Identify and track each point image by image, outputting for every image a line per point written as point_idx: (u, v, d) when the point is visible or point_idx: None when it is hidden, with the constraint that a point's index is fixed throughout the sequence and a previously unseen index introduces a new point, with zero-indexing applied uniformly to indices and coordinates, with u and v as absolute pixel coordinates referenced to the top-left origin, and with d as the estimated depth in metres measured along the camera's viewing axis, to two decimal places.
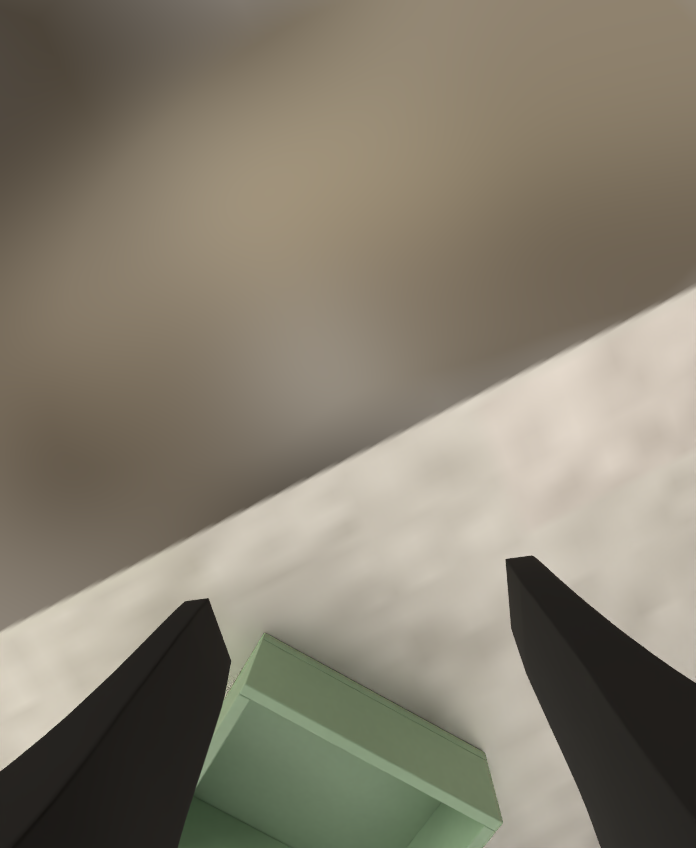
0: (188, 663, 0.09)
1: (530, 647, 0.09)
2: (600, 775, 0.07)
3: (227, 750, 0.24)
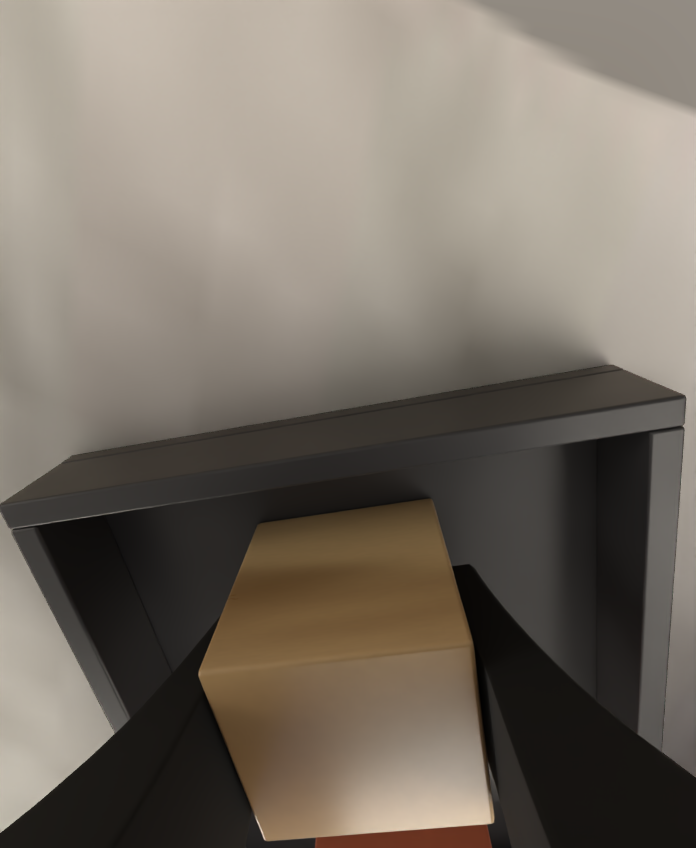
0: None
1: None
2: (505, 783, 0.07)
3: None
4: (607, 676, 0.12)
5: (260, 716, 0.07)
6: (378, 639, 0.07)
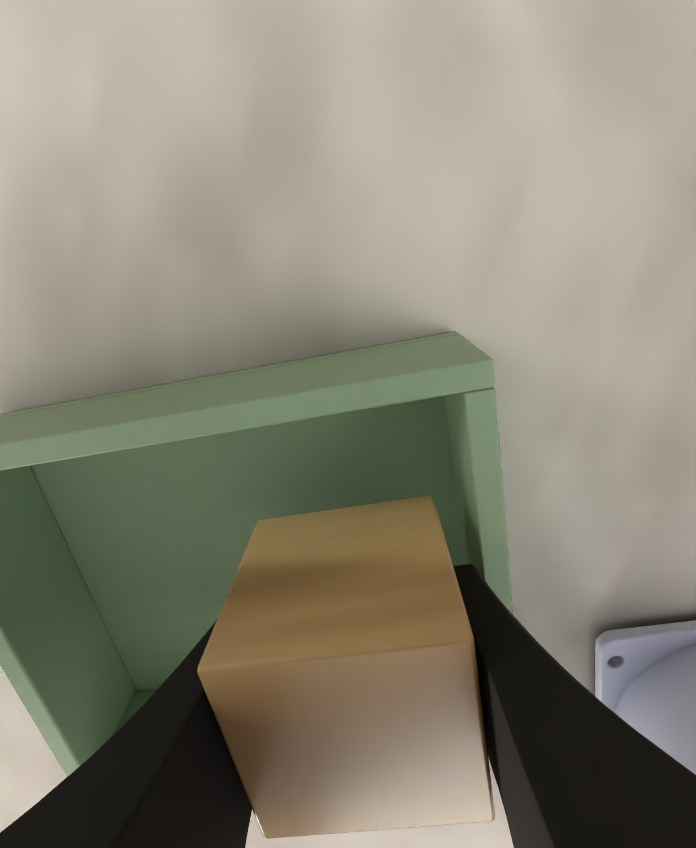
0: None
1: None
2: (508, 783, 0.07)
3: (125, 607, 0.15)
4: None
5: (259, 713, 0.07)
6: (379, 634, 0.07)
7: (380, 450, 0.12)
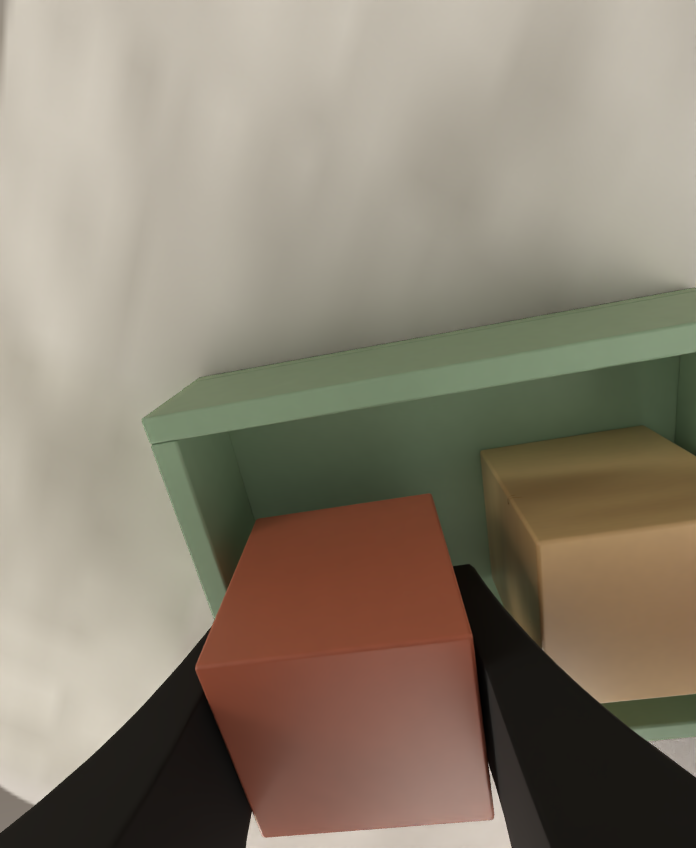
0: None
1: None
2: (505, 783, 0.07)
3: None
4: None
5: (581, 584, 0.09)
6: (694, 512, 0.08)
7: (601, 414, 0.12)
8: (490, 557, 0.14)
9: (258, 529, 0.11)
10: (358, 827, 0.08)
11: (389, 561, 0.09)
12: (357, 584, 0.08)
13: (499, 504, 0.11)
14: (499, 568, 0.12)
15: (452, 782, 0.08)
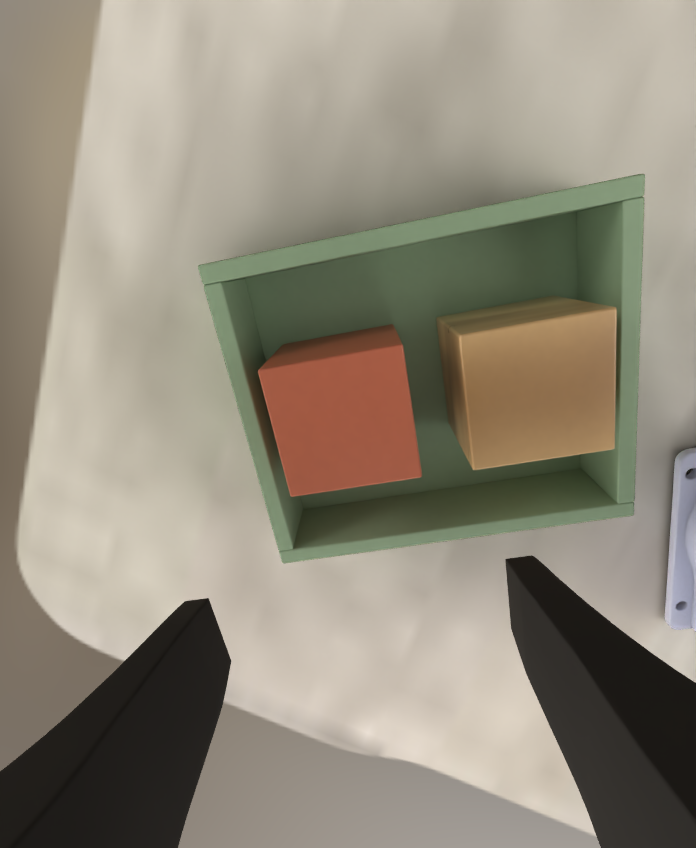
0: (188, 663, 0.09)
1: (530, 647, 0.09)
2: (600, 775, 0.07)
3: None
4: None
5: (490, 366, 0.13)
6: (561, 314, 0.13)
7: (523, 287, 0.16)
8: (446, 405, 0.18)
9: (284, 345, 0.17)
10: (345, 485, 0.15)
11: (363, 339, 0.15)
12: (345, 345, 0.14)
13: (446, 343, 0.15)
14: (450, 403, 0.17)
15: (397, 449, 0.14)
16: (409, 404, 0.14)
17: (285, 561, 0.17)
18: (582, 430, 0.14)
